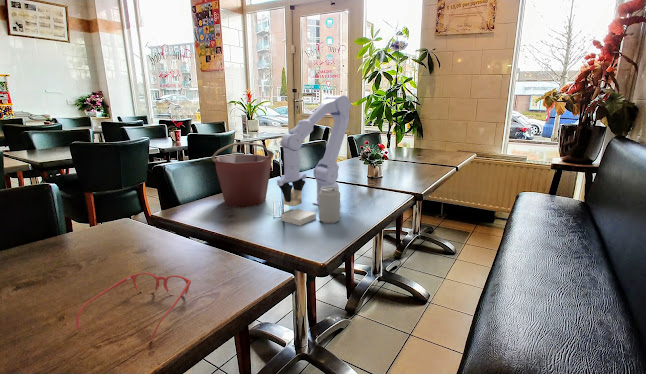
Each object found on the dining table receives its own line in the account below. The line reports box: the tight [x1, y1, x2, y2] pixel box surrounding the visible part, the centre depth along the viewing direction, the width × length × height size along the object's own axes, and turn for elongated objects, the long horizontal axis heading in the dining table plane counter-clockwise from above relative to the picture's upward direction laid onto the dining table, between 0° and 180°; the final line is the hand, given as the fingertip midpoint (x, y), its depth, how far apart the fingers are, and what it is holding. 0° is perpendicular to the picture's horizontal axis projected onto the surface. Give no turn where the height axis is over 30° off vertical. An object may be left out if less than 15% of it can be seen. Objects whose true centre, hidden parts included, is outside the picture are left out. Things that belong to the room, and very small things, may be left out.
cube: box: [282, 188, 303, 207], centre depth 135 cm, size 5×5×5 cm
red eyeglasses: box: [75, 272, 192, 340], centre depth 70 cm, size 17×16×5 cm
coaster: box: [280, 208, 317, 226], centre depth 125 cm, size 9×9×2 cm
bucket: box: [211, 142, 275, 209], centre depth 143 cm, size 24×22×25 cm
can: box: [318, 187, 341, 224], centre depth 123 cm, size 8×8×12 cm
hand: (292, 199), depth 135 cm, fingers closed on cube, 5 cm apart
